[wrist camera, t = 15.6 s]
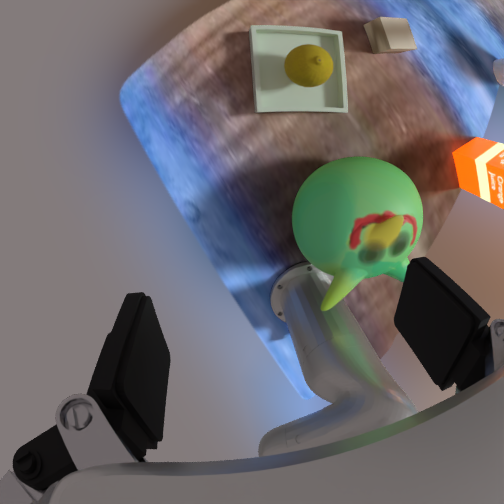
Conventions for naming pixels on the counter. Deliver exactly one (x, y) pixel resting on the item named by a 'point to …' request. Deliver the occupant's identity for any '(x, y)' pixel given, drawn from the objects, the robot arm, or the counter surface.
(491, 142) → the orange juice
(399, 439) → the robot arm
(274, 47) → the tray
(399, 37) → the beech block
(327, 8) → the counter surface
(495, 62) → the foam cup
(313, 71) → the lemon
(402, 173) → the toy bird
